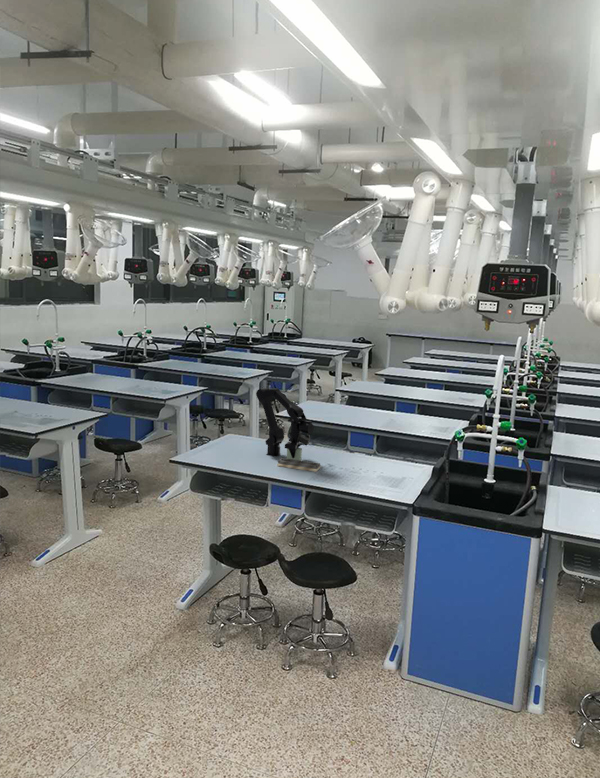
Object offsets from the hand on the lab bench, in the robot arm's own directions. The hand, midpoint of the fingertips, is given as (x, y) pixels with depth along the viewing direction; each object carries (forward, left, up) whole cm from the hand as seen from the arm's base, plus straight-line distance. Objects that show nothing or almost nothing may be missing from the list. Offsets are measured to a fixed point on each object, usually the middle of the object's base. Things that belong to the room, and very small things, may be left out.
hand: (294, 457), depth 323 cm
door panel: (0, 0, -2) cm, 2 cm away
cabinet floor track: (+6, -10, -2) cm, 12 cm away
